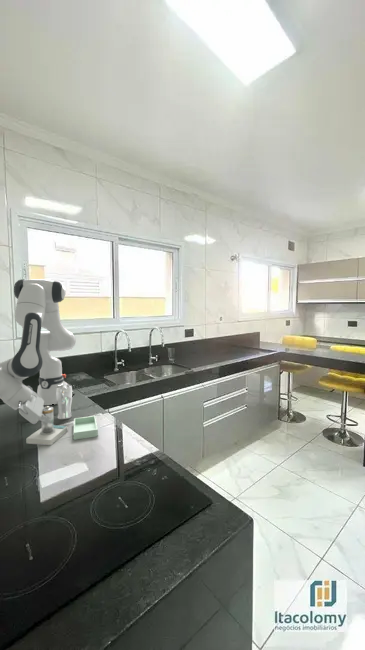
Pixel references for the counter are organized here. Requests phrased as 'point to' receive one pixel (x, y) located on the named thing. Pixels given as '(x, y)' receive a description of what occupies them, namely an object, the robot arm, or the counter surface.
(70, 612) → the counter surface
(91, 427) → the trough
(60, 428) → the white flat block
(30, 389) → the robot arm
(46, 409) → the cell
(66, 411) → the clear plastic bottle
